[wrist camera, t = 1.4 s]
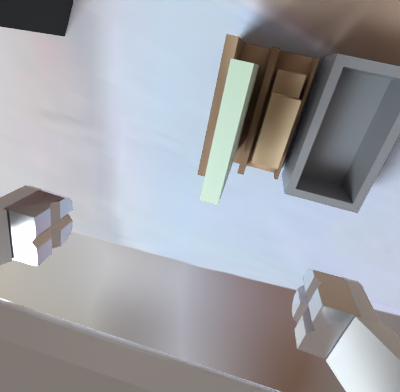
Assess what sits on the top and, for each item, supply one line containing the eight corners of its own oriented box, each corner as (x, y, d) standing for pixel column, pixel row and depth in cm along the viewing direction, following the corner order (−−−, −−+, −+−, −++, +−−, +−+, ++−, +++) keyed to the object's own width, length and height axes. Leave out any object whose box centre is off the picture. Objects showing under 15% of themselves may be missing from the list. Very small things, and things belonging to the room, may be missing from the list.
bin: (400, 72, 33) (432, 73, 27) (343, 190, 40) (357, 213, 34) (324, 56, 34) (337, 53, 28) (282, 174, 41) (284, 193, 35)
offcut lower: (303, 74, 34) (306, 75, 31) (274, 158, 39) (275, 165, 36) (277, 69, 34) (278, 69, 31) (252, 152, 39) (251, 159, 36)
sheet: (259, 65, 34) (254, 63, 18) (237, 149, 39) (217, 204, 23) (247, 62, 34) (230, 58, 19) (226, 146, 39) (199, 199, 24)
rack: (314, 58, 34) (330, 55, 26) (276, 169, 41) (278, 196, 32) (236, 42, 35) (226, 34, 27) (211, 152, 42) (197, 174, 34)
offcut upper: (298, 98, 32) (301, 100, 30) (276, 161, 36) (277, 169, 33) (271, 92, 33) (271, 94, 30) (252, 155, 36) (251, 162, 34)
